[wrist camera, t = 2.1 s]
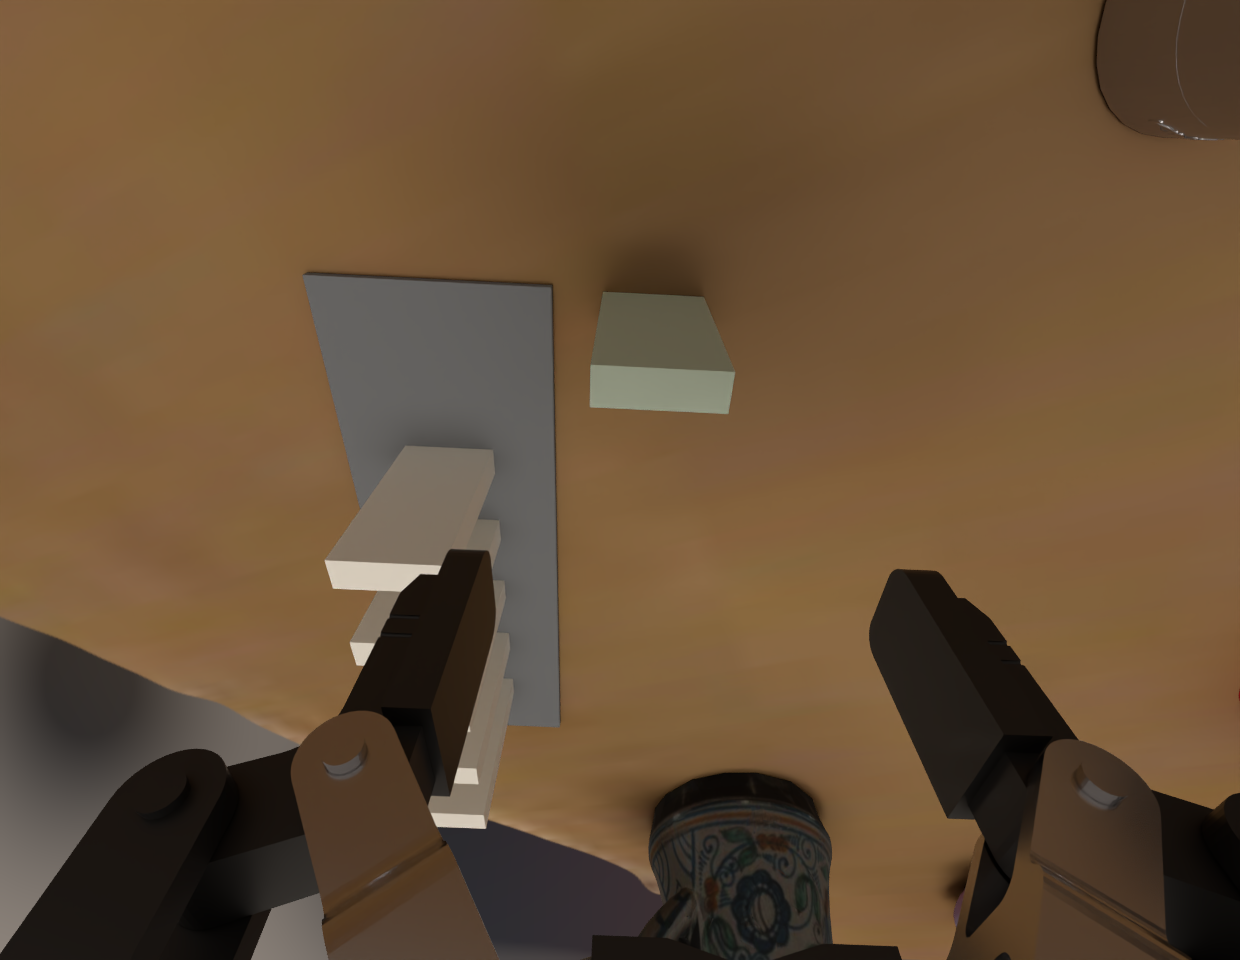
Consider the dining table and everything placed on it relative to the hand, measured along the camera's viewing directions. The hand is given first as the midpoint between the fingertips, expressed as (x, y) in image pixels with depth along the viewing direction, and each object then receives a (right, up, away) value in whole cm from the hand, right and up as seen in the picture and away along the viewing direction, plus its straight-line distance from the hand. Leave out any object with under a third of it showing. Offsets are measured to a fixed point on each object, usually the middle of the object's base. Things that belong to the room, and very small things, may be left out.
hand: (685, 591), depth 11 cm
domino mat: (-11, -3, +26) cm, 28 cm away
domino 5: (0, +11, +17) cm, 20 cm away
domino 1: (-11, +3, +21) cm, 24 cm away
